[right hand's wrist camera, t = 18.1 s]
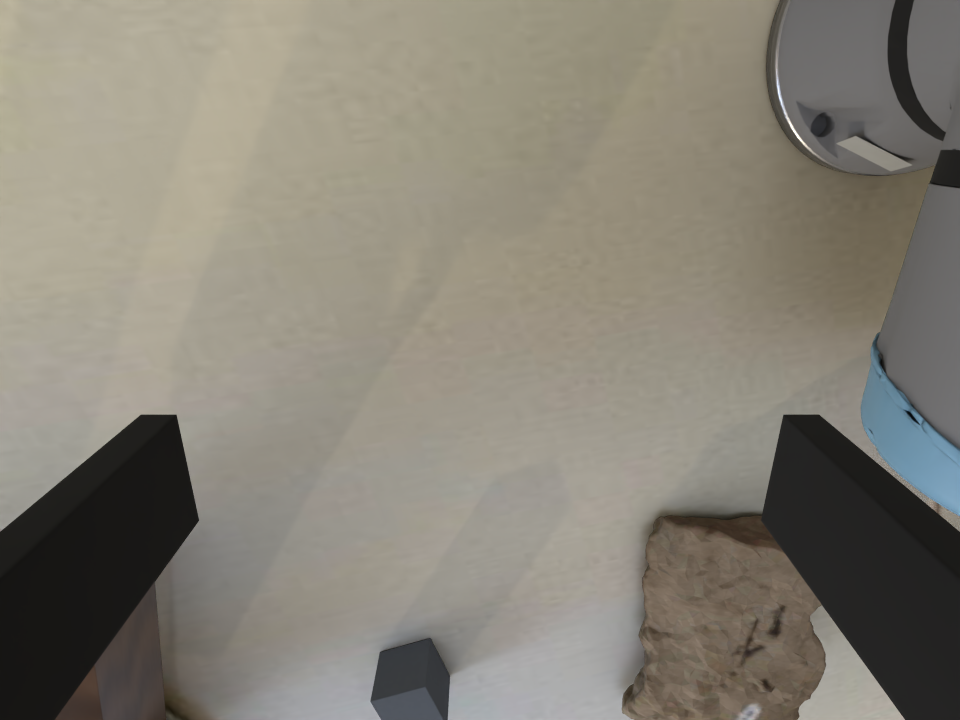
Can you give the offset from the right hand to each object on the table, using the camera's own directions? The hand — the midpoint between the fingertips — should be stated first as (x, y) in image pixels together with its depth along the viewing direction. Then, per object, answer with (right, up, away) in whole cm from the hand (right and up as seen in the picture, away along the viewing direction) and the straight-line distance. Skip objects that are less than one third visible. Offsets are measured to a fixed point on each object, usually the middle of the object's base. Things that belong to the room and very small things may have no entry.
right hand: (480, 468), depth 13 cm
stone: (+20, -19, +38) cm, 47 cm away
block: (-6, -26, +41) cm, 49 cm away
